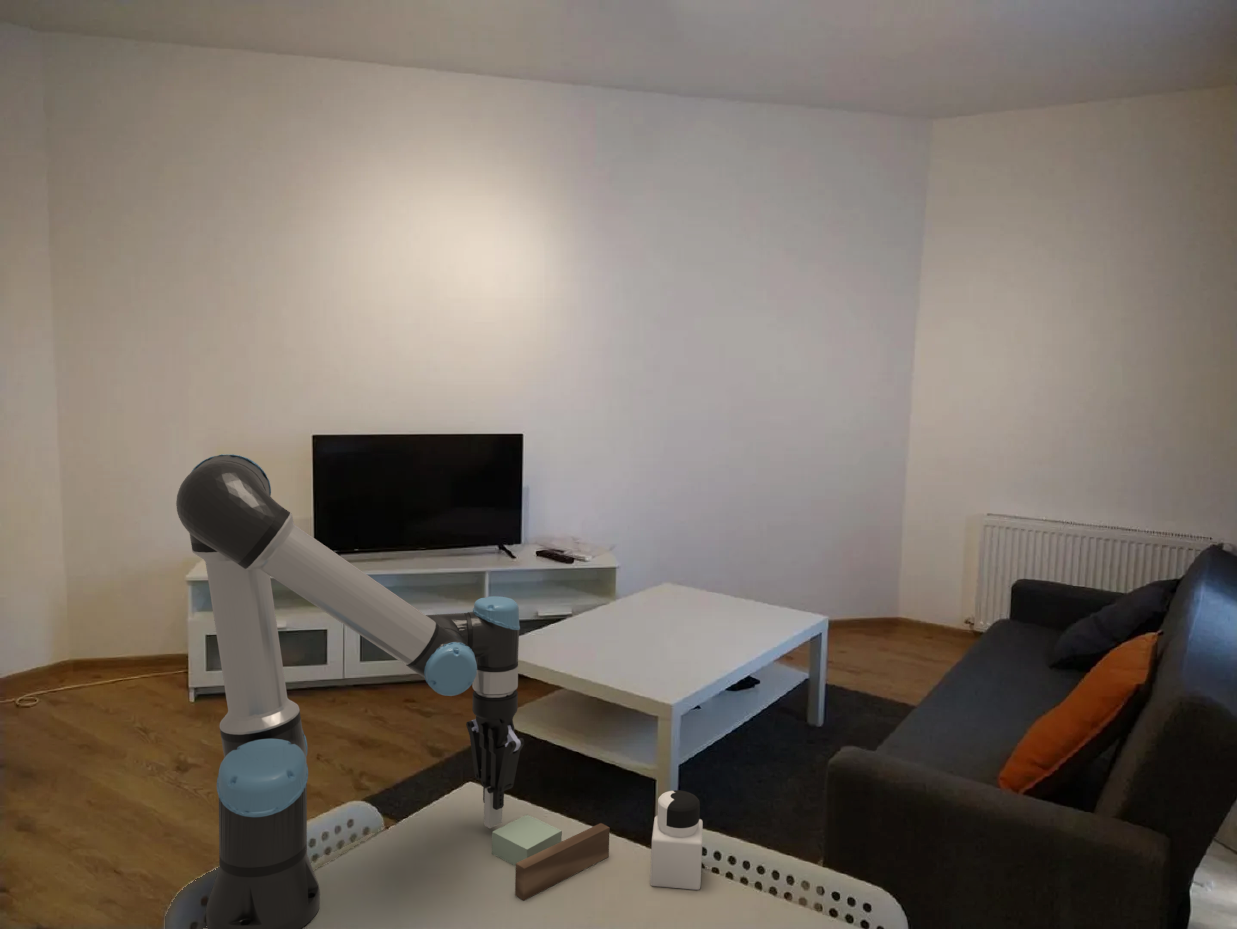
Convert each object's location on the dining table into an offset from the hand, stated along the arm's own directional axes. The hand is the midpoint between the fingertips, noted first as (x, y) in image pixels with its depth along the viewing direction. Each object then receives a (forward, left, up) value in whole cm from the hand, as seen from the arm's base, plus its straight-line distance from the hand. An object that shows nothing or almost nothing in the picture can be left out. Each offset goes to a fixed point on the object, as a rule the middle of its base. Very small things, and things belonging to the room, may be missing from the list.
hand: (493, 824), depth 154 cm
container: (+30, +13, -2) cm, 33 cm away
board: (+18, 0, -1) cm, 18 cm away
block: (+9, 0, -2) cm, 9 cm away
